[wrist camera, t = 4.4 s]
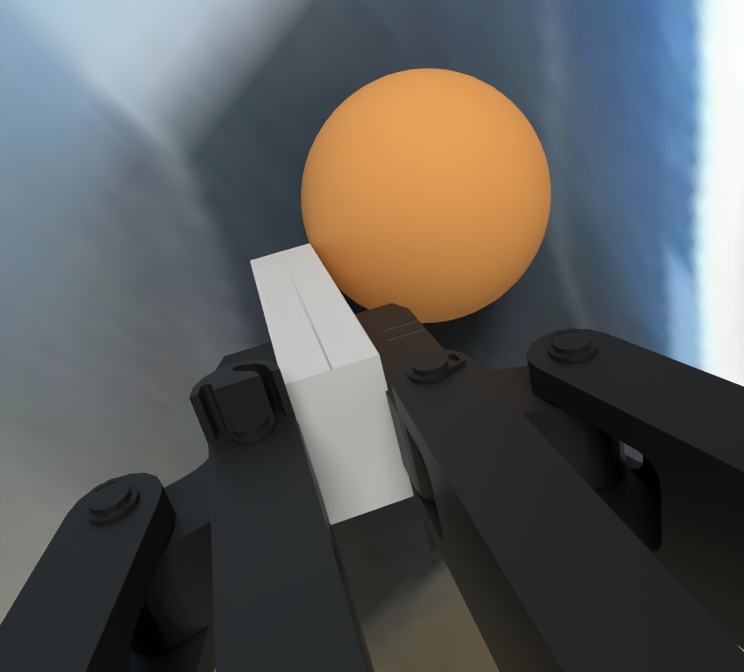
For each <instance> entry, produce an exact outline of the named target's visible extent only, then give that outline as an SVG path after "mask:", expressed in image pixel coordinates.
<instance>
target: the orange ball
mask: <svg viewBox="0 0 744 672" xmlns="http://www.w3.org/2000/svg"><path fill="white" fill-rule="evenodd" d="M550 204H551V186H550V176H549V170H548V164H547V161H546V157H545V153H544V151H543V148H542V146H541V143H540V141H539V139H538V137H537V135H536V133H535V131H534V129H533V127H532V126H531V124H530V123H529V121H528V120H527V119H526V117H525V116H524V115H523V114H522V112H521V111H520V110H519V109H518V108H517V107H516V106H515V105H514V104H513V103H512V101H511V100H509V99H508V98H507V97H505V96H504V95H503V94H502V93H500V92H499V91H498V90H496V89H495V88H493V87H492V86H490V85H488V84H486V83H484V82H482V81H480V80H478V79H476V78H474V77H472V76H469V75H465V74H462V73H458V72H454V71H450V70H443V69H413V70H407V71H402V72H397V73H394V74H390V75H387V76H384V77H382V78H380V79H378V80H376V81H374V82H372V83H370V84H367V85H365V86H364V87H362V88H361V89H359V90H358V91H356V92H355V93H354V94H352V95H351V96H350V97H349V98H347V99H346V100H345V101H344V102H343V103H342V104H341V105H340V106H339V107H338V108H336V109H335V111H334V112H333V113H332V114H331V116H330V117H329V118H328V119H327V121H326V122H325V124H324V125H323V127H322V128H321V130H320V132H319V133H318V135H317V137H316V138H315V141H314V143H313V145H312V147H311V149H310V152H309V155H308V158H307V161H306V164H305V169H304V173H303V178H302V189H301V209H302V216H303V223H304V227H305V231H306V235H307V238H308V240H309V243H310V244H311V246H312V248H313V249H314V251H315V252H316V254H317V256H318V257H319V259H320V260H321V262H322V264H323V265H324V267H325V268H326V270H327V272H328V273H329V275H330V276H331V278H332V280H333V281H334V283H335V284H336V286H337V287H338V288H339V289H340V290H341V291H342V292H343V293H345V294H346V295H347V296H348V297H349V298H351V299H352V300H354V301H355V302H356V303H358V304H359V305H361V306H363V307H365V308H367V309H369V310H370V309H373V308H377V307H380V306H383V305H386V304H390V303H394V304H397V305H400V306H402V307H405V308H408V309H409V310H410V311H411V312H412V313H413V314H414V315H415V316H416V318H417V319H418V321H420V322H421V323H435V322H443V321H448V320H453V319H457V318H460V317H463V316H466V315H469V314H471V313H474V312H476V311H478V310H480V309H481V308H483V307H485V306H487V305H489V304H490V303H492V302H494V301H495V300H497V299H498V298H499V297H501V296H502V295H503V294H504V293H505V292H506V291H507V290H509V289H510V288H511V287H512V286H513V285H514V284H515V283H516V282H517V281H518V280H519V278H520V277H521V276H522V275H523V274H524V272H525V271H526V269H527V268H528V266H529V265H530V263H531V262H532V260H533V258H534V256H535V255H536V253H537V251H538V249H539V247H540V244H541V242H542V239H543V237H544V234H545V231H546V227H547V223H548V218H549V213H550Z"/></svg>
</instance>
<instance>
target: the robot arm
mask: <svg viewBox="0 0 744 672" xmlns="http://www.w3.org/2000/svg"><path fill="white" fill-rule="evenodd" d="M250 262H251V266H252V270H253V274H254V277H255V281H256V285H257V289H258V292H259V296H260V300H261V304H262V308H263V311H264V315H265V319H266V323H267V326H268V330H269V334H270V338H271V341H272V342H270V343H266V344H263V345H260V346H257V347H253V348H250V349H247V350H244V351H241V352H237V353H234V354H231V355H228V356H225V357H224V358H223V360H222V361H221V363H220V364H219V366H218V367H217V369H216V370H215V371H214V372H212V373H211V374H209V375H207V376H206V377H204V378H203V379H202V380H201V381H200V382H199V383H197V384H196V385H195V386H194V387H193V389H192V392H191V394H190V397H189V398H190V400H191V403H192V405H193V408H194V410H195V413H196V415H197V418H198V420H199V423H200V425H201V427H202V430H203V432H204V435H205V437H206V440H207V442H208V447H209V458H208V459H207V460H206V462H204V463H203V464H202V465H201V466H200V467H198V468H197V469H196V470H195V471H193V472H191V473H190V474H188V475H187V476H185V477H183V478H182V479H180V480H178V481H176V482H174V483H172V484H170V485H169V486H167V487H165V488H163V485H162V484H161V482H160V481H159V479H158V478H157V477H156V476H153V475H150V474H147V473H138V474H128V475H125V476H122V477H118V478H113V479H111V480H108V481H106V482H105V483H104V484H103V483H102V484H100V485H98V486H97V487H95V488H94V489H92V491H90V492H89V493H88V494H86V495H85V496H84V497H82V498H81V499H80V500H79V501H78V502H77V503H76V504H75V505H74V506H73V508H72V509H71V510H70V511H69V513H68V514H67V515H66V517H65V519H64V520H63V522H62V524H61V525H60V527H59V529H58V530H57V532H56V534H55V535H54V537H53V539H52V540H51V542H50V544H49V545H48V547H47V548H46V550H45V552H44V553H43V555H42V557H41V558H40V560H39V562H38V563H37V565H36V567H35V568H34V570H33V572H32V573H31V575H30V577H29V578H28V580H27V582H26V583H25V585H24V587H23V588H22V590H21V592H20V593H19V595H18V597H17V598H16V600H15V602H14V603H13V605H12V607H11V608H10V610H9V612H8V613H7V615H6V617H5V618H4V620H3V622H2V623H1V625H0V672H214V670H216V672H374V669H373V665H372V662H371V658H370V655H369V652H368V648H367V645H366V641H365V638H364V634H363V631H362V628H361V624H360V621H359V617H358V614H357V611H356V607H355V604H354V600H353V597H352V594H351V590H350V587H349V583H348V580H347V576H346V573H345V570H344V566H343V563H342V559H341V556H340V553H339V549H338V546H337V543H336V540H335V537H334V533H333V530H332V527H331V525H333V524H335V523H338V522H341V521H344V520H347V519H350V518H352V517H355V516H358V515H361V514H364V513H367V512H369V511H372V510H375V509H378V508H381V507H384V506H386V505H389V504H392V503H395V502H398V501H401V500H403V499H406V498H409V497H412V496H414V495H413V491H412V487H411V483H410V479H411V480H412V482H413V484H414V486H415V488H416V491H417V495H418V499H419V503H420V507H421V512H422V516H423V520H424V524H425V528H426V532H427V537H428V541H429V545H430V549H431V551H432V550H435V549H437V546H438V548H439V550H440V552H441V554H442V556H443V558H444V560H445V562H446V564H447V566H448V568H449V570H450V572H451V574H452V576H453V578H454V580H455V582H456V584H457V586H458V588H459V590H460V592H461V594H462V596H463V598H464V600H465V602H466V605H467V607H468V609H469V611H470V613H471V615H472V617H473V619H474V621H475V623H476V625H477V627H478V629H479V631H480V633H481V635H482V637H483V639H484V641H485V643H486V645H487V647H488V649H489V651H490V653H491V655H492V657H493V659H494V661H495V663H496V665H497V667H498V669H499V671H500V672H744V652H743V651H742V650H741V649H740V648H739V647H738V646H740V647H741V648H742V649H744V387H743V386H741V385H738V384H736V383H733V382H730V381H728V380H725V379H723V378H720V377H717V376H715V375H712V374H710V373H707V372H704V371H702V370H699V369H697V368H694V367H692V366H689V365H686V364H684V363H681V362H679V361H676V360H673V359H671V358H668V357H666V356H663V355H660V354H658V353H655V352H653V351H650V350H647V349H645V348H642V347H640V346H637V345H635V344H632V343H629V342H627V341H624V340H622V339H619V338H616V337H614V336H611V335H609V334H606V333H602V332H598V331H594V330H588V329H576V328H571V329H565V330H558V331H555V332H553V333H551V334H548V335H545V336H542V337H540V338H539V339H537V340H536V341H535V342H533V343H532V344H531V345H530V347H529V349H528V350H527V352H526V353H527V361H528V366H522V367H515V368H507V369H498V370H482V369H481V368H480V367H479V366H478V365H477V364H476V362H475V361H474V360H473V359H472V358H471V357H469V356H467V355H466V354H464V353H463V352H458V351H453V350H444V349H443V348H442V347H441V345H440V344H439V343H438V342H437V341H436V340H435V339H434V337H433V336H432V335H431V334H430V333H429V332H428V330H427V329H425V327H424V326H423V325H422V323H421V322H420V321H418V319H417V318H416V316H415V315H414V314H413V313H412V312H411V311H410V310H409V309H408V308H405V307H402V306H400V305H397V304H394V303H390V304H386V305H383V306H380V307H377V308H373V309H370V310H367V311H364V312H360V313H357V314H354V313H353V312H352V310H351V308H350V307H349V305H348V304H347V302H346V300H345V299H344V297H343V296H342V294H341V292H340V291H339V289H338V288H337V286H336V284H335V283H334V281H333V280H332V278H331V276H330V275H329V273H328V272H327V270H326V268H325V267H324V265H323V264H322V262H321V260H320V259H319V257H318V256H317V254H316V252H315V251H314V249H313V248H312V246H311V244H310V243H309V244H306V245H302V246H299V247H295V248H292V249H288V250H285V251H282V252H278V253H275V254H271V255H268V256H264V257H261V258H257V259H254V260H251V261H250ZM625 444H627V445H629V446H631V447H632V448H634V449H636V450H637V451H639V452H640V453H641V454H643V463H641V462H638V461H636V460H634V459H632V458H631V457H629V456H627V455H626V446H625ZM409 477H410V478H409Z"/></svg>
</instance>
